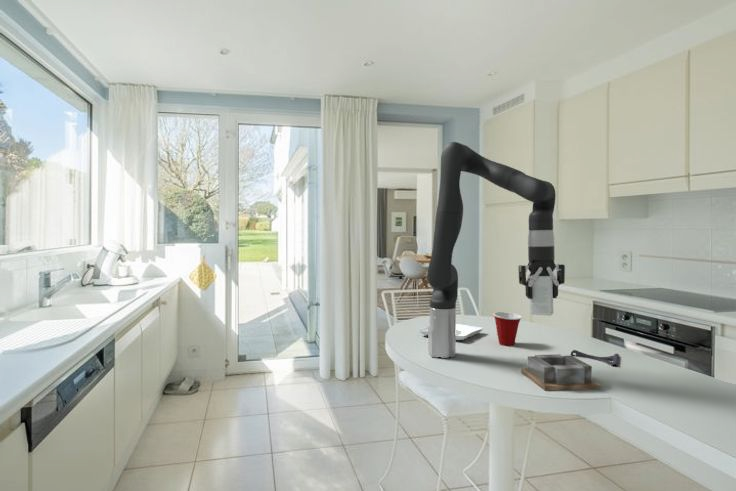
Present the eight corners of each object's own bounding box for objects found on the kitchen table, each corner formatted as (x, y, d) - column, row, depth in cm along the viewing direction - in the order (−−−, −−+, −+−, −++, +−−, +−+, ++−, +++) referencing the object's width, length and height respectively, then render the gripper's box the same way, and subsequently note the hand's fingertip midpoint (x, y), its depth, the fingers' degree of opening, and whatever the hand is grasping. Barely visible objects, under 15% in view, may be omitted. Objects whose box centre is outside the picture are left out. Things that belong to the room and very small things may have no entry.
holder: (544, 390, 121) (545, 370, 121) (520, 372, 137) (521, 354, 137) (600, 389, 122) (600, 368, 122) (569, 371, 138) (570, 353, 138)
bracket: (573, 352, 162) (573, 345, 162) (619, 358, 154) (619, 350, 154) (568, 362, 150) (568, 354, 150) (617, 369, 142) (618, 360, 142)
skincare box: (553, 313, 135) (553, 275, 135) (551, 316, 131) (550, 276, 131) (533, 312, 138) (532, 274, 138) (530, 314, 135) (529, 276, 134)
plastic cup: (512, 349, 164) (512, 317, 164) (487, 344, 172) (487, 313, 172) (526, 344, 171) (527, 314, 171) (502, 339, 179) (502, 310, 179)
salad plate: (439, 328, 202) (439, 321, 202) (484, 334, 190) (484, 326, 190) (417, 337, 185) (417, 329, 185) (464, 344, 173) (464, 336, 172)
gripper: (523, 245, 130) (524, 300, 130) (569, 244, 131) (570, 299, 131) (513, 245, 138) (514, 297, 138) (557, 244, 139) (558, 296, 139)
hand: (542, 298), depth 135 cm, fingers closed on skincare box, 7 cm apart
